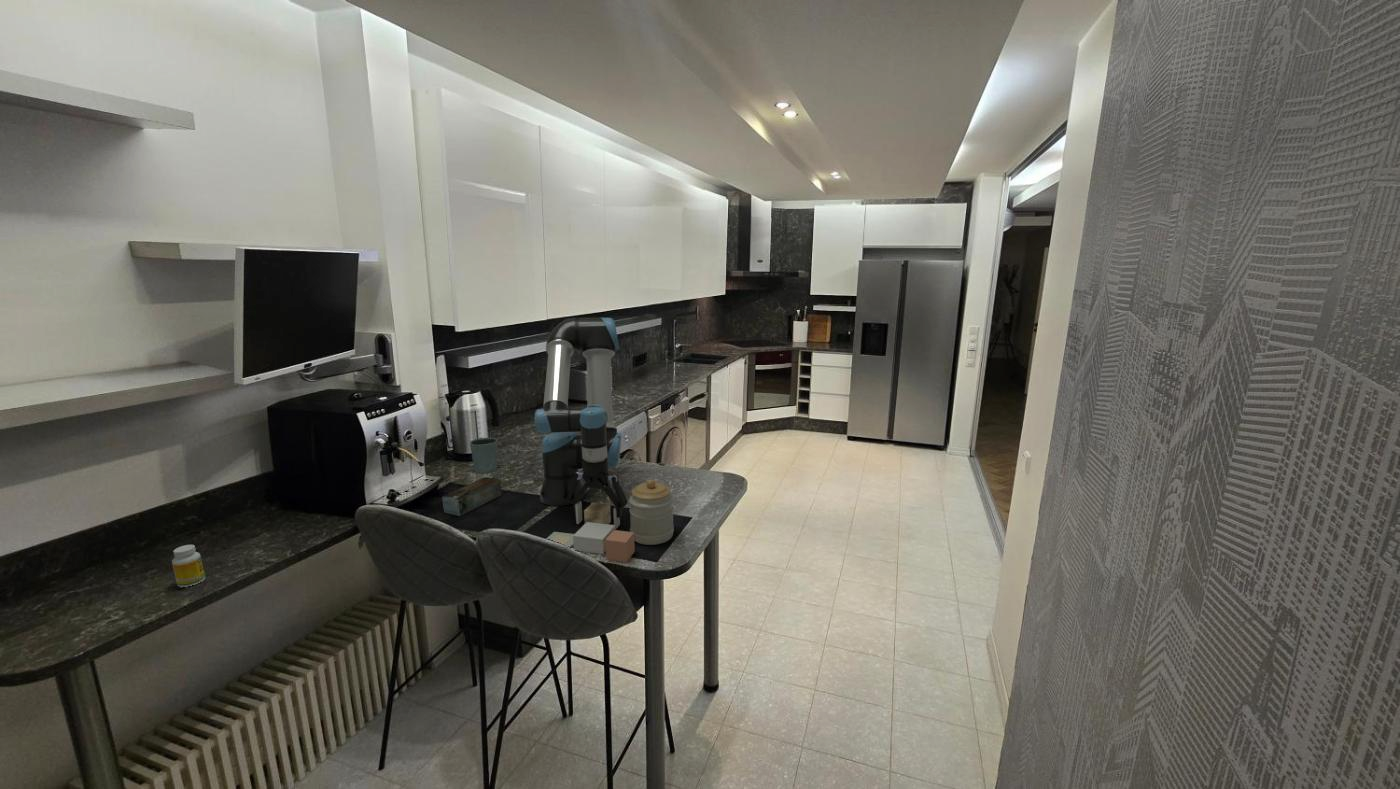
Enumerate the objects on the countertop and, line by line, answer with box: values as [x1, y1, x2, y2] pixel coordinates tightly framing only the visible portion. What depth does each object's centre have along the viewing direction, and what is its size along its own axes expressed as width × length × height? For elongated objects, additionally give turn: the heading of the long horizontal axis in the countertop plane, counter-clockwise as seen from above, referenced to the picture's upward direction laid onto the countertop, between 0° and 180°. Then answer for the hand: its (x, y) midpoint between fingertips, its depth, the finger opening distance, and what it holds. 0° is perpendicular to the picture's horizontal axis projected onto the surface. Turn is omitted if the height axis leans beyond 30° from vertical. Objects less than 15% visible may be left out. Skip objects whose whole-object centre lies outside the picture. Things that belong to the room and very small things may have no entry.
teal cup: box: [469, 437, 498, 475], centre depth 219 cm, size 10×10×12 cm
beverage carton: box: [441, 476, 503, 517], centre depth 188 cm, size 8×19×7 cm, turn 156°
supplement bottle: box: [171, 544, 206, 588], centre depth 140 cm, size 5×5×10 cm
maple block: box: [583, 502, 612, 525], centre depth 172 cm, size 6×6×6 cm
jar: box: [628, 479, 675, 546], centre depth 164 cm, size 13×13×18 cm
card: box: [546, 531, 575, 548], centre depth 161 cm, size 9×9×1 cm
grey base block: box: [573, 522, 616, 555], centre depth 159 cm, size 9×9×4 cm
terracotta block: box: [605, 529, 636, 563], centre depth 153 cm, size 6×6×6 cm
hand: (598, 524), depth 172 cm, fingers open, 12 cm apart
